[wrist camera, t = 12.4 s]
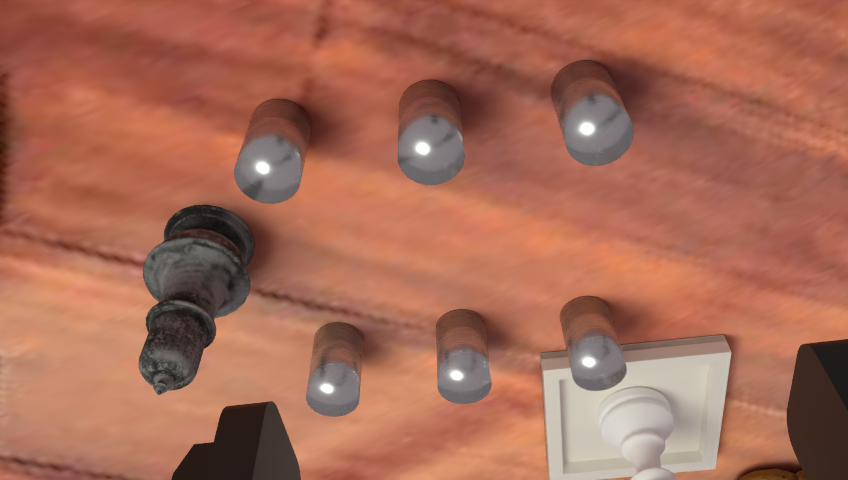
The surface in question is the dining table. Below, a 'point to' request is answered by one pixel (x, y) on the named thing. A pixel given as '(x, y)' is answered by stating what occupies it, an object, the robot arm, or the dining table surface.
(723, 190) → the dining table surface
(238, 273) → the grey chess piece
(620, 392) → the chess pawn
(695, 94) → the dining table surface
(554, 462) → the square tray
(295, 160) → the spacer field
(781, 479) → the bread roll
